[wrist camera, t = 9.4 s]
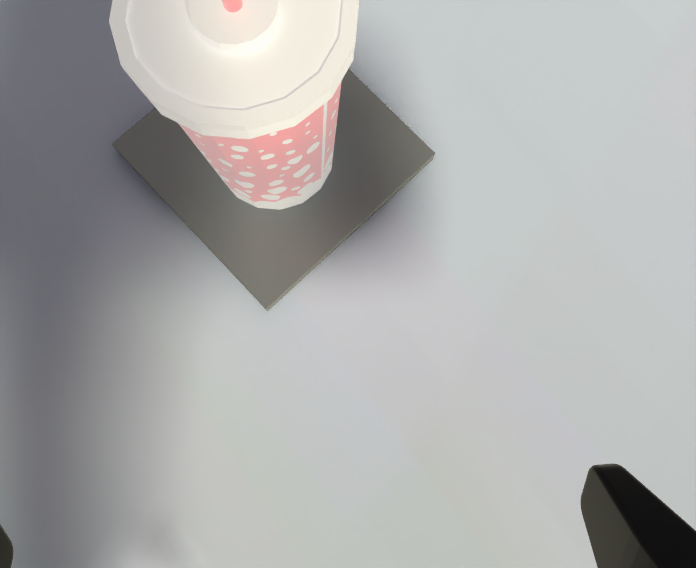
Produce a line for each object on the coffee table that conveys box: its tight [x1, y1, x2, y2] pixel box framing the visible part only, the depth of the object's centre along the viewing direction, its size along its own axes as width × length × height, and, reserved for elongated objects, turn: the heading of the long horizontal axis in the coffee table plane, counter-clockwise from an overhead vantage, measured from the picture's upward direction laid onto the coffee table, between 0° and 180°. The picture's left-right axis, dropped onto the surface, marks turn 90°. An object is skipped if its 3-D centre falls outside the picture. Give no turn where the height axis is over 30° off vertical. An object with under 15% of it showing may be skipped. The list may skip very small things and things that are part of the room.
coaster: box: [112, 69, 435, 311], centre depth 24 cm, size 9×9×1 cm
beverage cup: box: [109, 0, 359, 210], centre depth 16 cm, size 6×6×14 cm
